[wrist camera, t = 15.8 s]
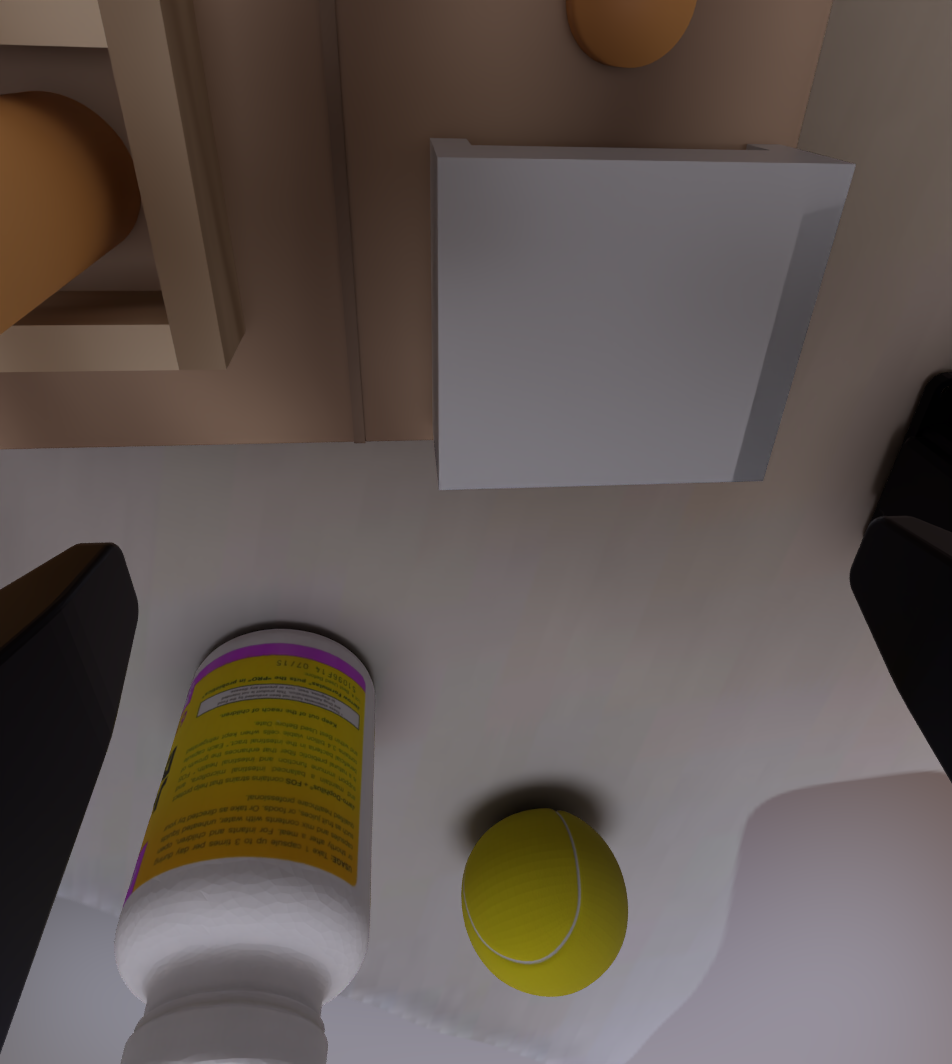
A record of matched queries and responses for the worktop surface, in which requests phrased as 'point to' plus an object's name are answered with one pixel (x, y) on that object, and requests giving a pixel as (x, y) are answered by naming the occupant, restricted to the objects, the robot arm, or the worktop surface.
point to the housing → (620, 308)
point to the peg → (57, 196)
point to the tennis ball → (544, 902)
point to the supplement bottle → (254, 858)
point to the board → (334, 187)
